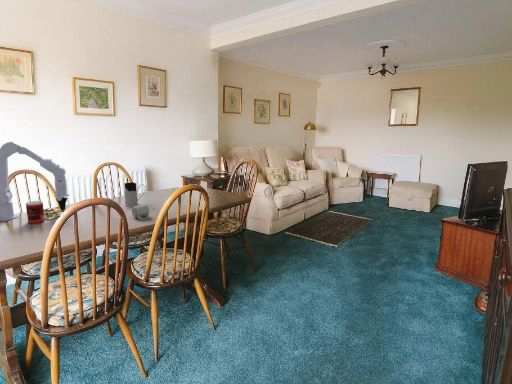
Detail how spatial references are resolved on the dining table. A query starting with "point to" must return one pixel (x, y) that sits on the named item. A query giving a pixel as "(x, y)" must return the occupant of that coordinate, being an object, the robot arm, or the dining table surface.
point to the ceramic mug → (140, 212)
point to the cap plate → (51, 215)
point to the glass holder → (131, 194)
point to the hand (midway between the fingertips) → (62, 209)
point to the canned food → (35, 212)
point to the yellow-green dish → (55, 211)
